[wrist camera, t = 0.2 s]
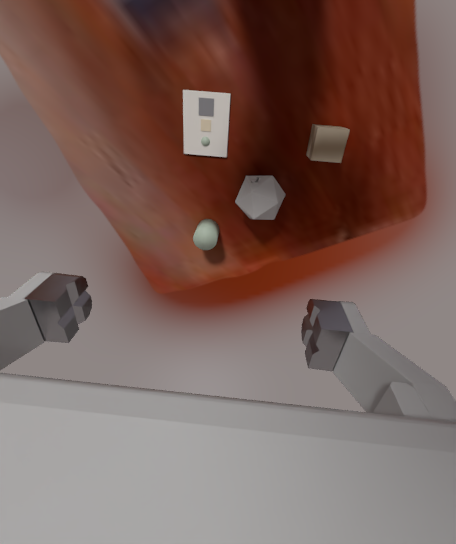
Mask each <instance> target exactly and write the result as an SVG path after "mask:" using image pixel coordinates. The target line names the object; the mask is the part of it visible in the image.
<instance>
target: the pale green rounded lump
mask: <svg viewBox="0 0 456 544" xmlns="http://www.w3.org/2000/svg"><path fill="white" fill-rule="evenodd" d="M218 235H219V226H218V224H217V223H216V222H215V221H213V220H211V219H204V220H202V221H201V222H200V223H199V224H198V226H197V229H196V231H195V234H194V237H193V240H194V243H195V245H196V246H197V247H198V248H200V249H202V250H210V249H212V248H214V247H215V245H216V243H217V239H218Z"/></svg>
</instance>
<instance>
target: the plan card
mask: <svg viewBox="0 0 456 544" xmlns="http://www.w3.org/2000/svg"><path fill="white" fill-rule="evenodd" d="M230 95H231V94H229V93H216V92H204V91H191V90H183V125H184V154H193V155H205V156H216V157H227V144H228V128H229V111H230Z"/></svg>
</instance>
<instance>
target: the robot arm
mask: <svg viewBox="0 0 456 544" xmlns="http://www.w3.org/2000/svg"><path fill="white" fill-rule="evenodd" d="M87 287H88V284H87V281H86V278H84V277H83V276H76V275H68V274H60V273H50V272H39V273H37V274H36V275H35V276H34V277H32V278H31V279H30V280H28V281H27V282H26V283H25V284H24V285H22V286H21V287H20V288H19V289H17V290H16V291H15V292H14V293H12V294H11V295H10V296H9V297H8V298H5V297H2V298H0V370H1V369H3V368H5V367H6V366H8V365H9V364H11V363H12V362H14V361H16V360H17V359H19V358H20V357H22V356H23V355H25V354H27V353H28V352H30V351H31V350H33V349H35V348H36V347H37V346H39V345H41V344H42V343H44V341H51V342H65V343H69V342H70V341H71V339H72V338H73V337H74V335H75V334H76V333H77V331H78V330H79V327H78V324H80V323H82V322H83V321H85V320H86V319H87V318H88V316H89V314H90V311H91V308H92V300H91V296H90V295H89V294H88V293H87V292H86V291H85V290H86V288H87ZM307 312H308V315H306V316H305V317H304V319H303V323H302V331H301V333H302V341H303V343H304V345H305V346H306V351H305V355H306V360H307V365H308V368H312V369H319V370H327V371H333V373H334V374H335V375H336V377H337V378H338V379H339V380H340V381H341V383H342V384H343V385H344V386H345V387H346V389H347V390H348V391H349V392H350V393H351V394H352V396H353V397H354V398H355V399H356V400H357V401H358V403H359V404H360V405H361V406H362V407H363V409H364V410H365V411H366V412H358V411H348V410H339V409H330V408H321V407H311V406H302V405H293V404H282V403H274V402H265V401H256V400H247V399H237V398H228V397H219V396H210V395H200V394H192V393H183V392H173V391H163V390H155V389H145V388H135V387H127V386H118V385H108V384H99V383H90V382H80V381H71V380H62V379H53V378H43V377H33V376H25V375H16V374H7V373H0V544H456V401H455V399H454V398H453V396H452V395H451V393H450V392H449V390H448V389H447V388H446V386H445V385H443V384H442V383H440V382H439V381H438V380H436V379H435V378H434V377H432V376H431V375H430V374H428V373H427V372H425V371H424V370H423V369H421V368H420V367H418V366H417V365H416V364H414V363H413V362H412V361H410V360H409V359H408V358H406V357H405V356H404V355H402V354H401V353H399V352H398V351H397V350H395V349H394V348H392V347H391V346H390V345H388V344H387V343H386V342H384V341H383V340H382V339H380V338H379V337H377V336H376V335H371V334H370V332H369V330H368V328H367V326H366V324H365V322H364V320H363V318H362V316H361V314H360V312H359V310H358V308H357V307H356V304H355V303H353V302H343V301H338V302H337V301H326V300H315V299H310V300H309V302H308V305H307Z"/></svg>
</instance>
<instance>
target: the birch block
mask: <svg viewBox="0 0 456 544" xmlns="http://www.w3.org/2000/svg"><path fill="white" fill-rule="evenodd" d="M349 131H350V129H347V128H344V127H339V126H327V125H315V124H312V129H311V134H310V139H309V143H308V148H307V153H306V156H307V157H308V158H309V159H310V160H313V161H324V162H336V163H341V160H342V157H343V153H344V149H345V146H346V142H347V138H348V135H349Z"/></svg>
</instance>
